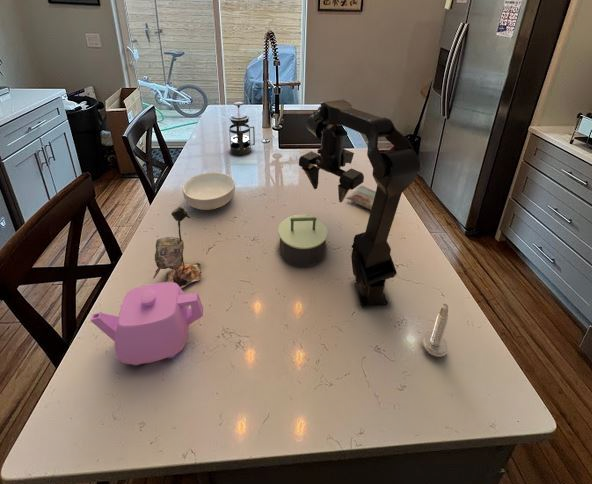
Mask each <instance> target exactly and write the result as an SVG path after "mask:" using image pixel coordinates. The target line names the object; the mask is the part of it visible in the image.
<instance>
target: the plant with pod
mask: <svg viewBox="0 0 592 484" xmlns="http://www.w3.org/2000/svg"><path fill="white" fill-rule="evenodd" d="M171 216H172V218H173V219H174V220H175V221H176V222H177V227H178V237H176V236H167V237H160V238H158V237H159V235H156V238H157V239H156V241H155V254H154V262H155V265H156V267H157V269H156V270H155V272H154V275H153V277H152V279H153V280H154V279H155V278H156V277H157V275H158V274H159V273H160V271H161V270H166V269H170V270H169V271H167V272H166V273H165V275H164V276H165V279H166V281H165V282H173V283H176V284H178V286H179V287H180V288H181V289H183V288H184V287H186V286H188V285H189V284H193V282H197V281H200V279H201V276H202V271H201V263H199V262H196V263H193V264H191V263H185V261H184V249H185V245H184V244H185V242H184V240H183V239H182V233H181V222H182V221H183V220H185V219H186V218H187V219H191V216H190V215H189V213H188V210H187V209H185V207H184V206H177V208H175V209H174V210H172V211H171Z"/></svg>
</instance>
